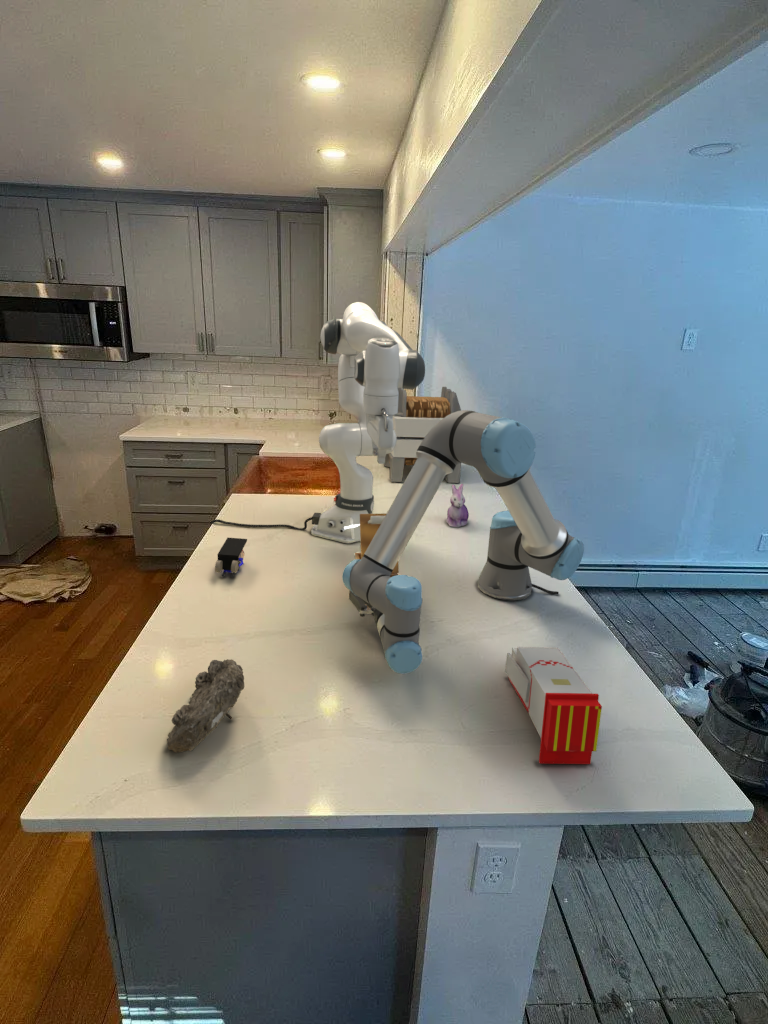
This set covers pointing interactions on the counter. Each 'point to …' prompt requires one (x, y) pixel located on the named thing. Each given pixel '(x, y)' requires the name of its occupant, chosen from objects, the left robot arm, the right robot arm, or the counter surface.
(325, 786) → the counter surface
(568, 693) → the toy
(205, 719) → the grey brown lumpy piece
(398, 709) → the counter surface
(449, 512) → the figurine
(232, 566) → the figurine character
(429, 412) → the transformer
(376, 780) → the counter surface
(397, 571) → the lid
